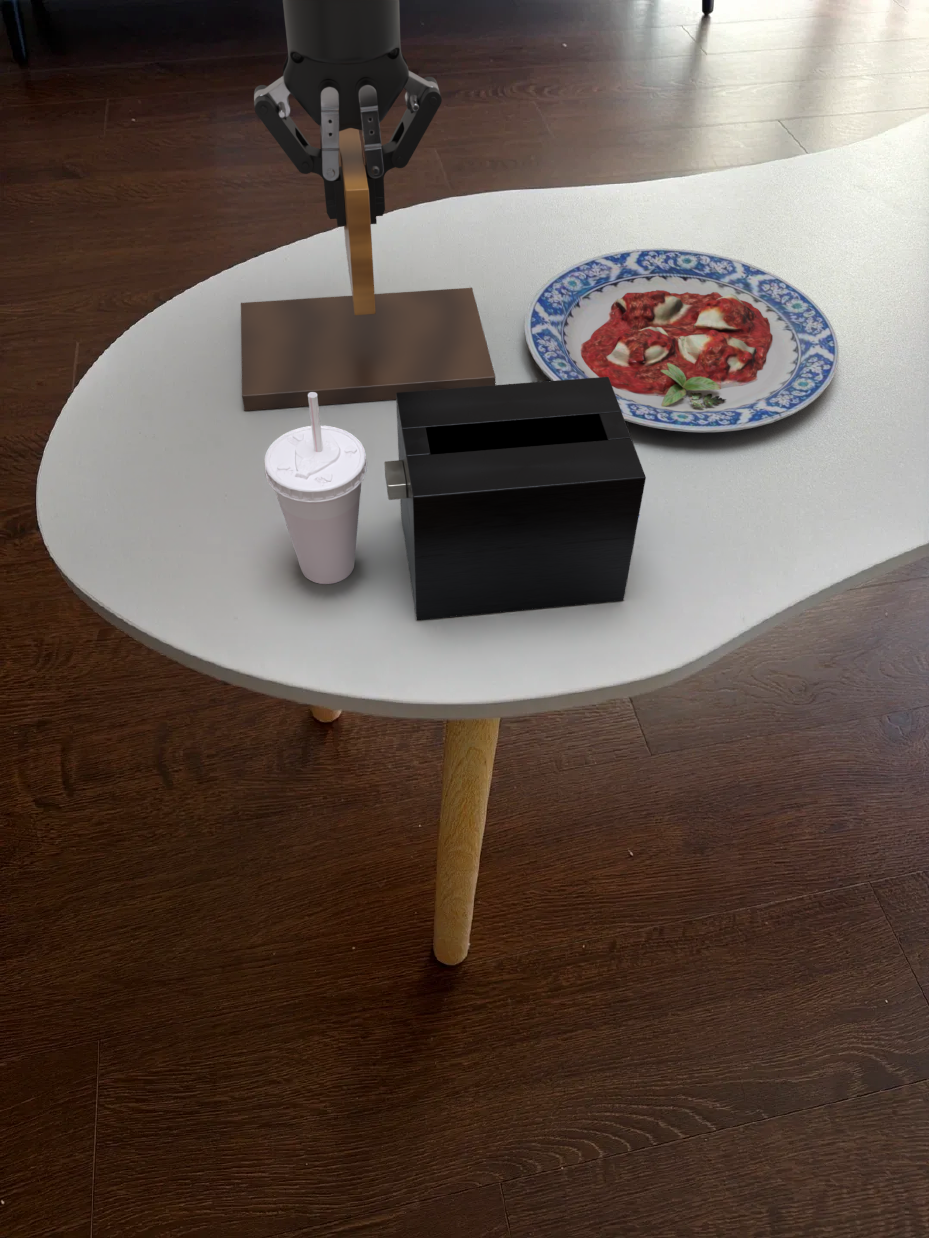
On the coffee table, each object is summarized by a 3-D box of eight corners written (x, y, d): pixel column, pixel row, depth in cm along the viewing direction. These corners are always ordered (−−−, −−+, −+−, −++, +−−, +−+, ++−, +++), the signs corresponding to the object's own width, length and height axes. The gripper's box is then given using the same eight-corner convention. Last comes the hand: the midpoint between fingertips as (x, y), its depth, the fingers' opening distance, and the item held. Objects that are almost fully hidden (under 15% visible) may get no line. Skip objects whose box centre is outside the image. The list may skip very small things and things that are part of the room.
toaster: (398, 622, 72) (392, 499, 64) (384, 518, 79) (377, 393, 70) (623, 600, 74) (646, 477, 65) (591, 500, 80) (608, 376, 72)
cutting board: (244, 411, 86) (241, 396, 85) (243, 317, 95) (240, 302, 94) (494, 392, 88) (495, 377, 87) (471, 302, 97) (472, 287, 96)
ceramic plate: (559, 251, 103) (562, 221, 100) (840, 295, 98) (849, 265, 96) (488, 417, 86) (489, 386, 84) (821, 479, 82) (832, 449, 80)
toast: (345, 246, 90) (336, 124, 82) (365, 245, 90) (357, 123, 82) (354, 316, 83) (345, 190, 76) (375, 314, 83) (368, 189, 76)
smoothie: (388, 544, 77) (379, 380, 66) (352, 609, 73) (336, 445, 62) (304, 523, 78) (282, 358, 68) (264, 585, 74) (234, 420, 64)
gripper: (439, -59, 73) (440, 190, 86) (229, -51, 71) (263, 200, 84) (454, -17, 68) (452, 240, 81) (229, -8, 66) (265, 252, 79)
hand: (355, 219), depth 82 cm, fingers closed on toast
